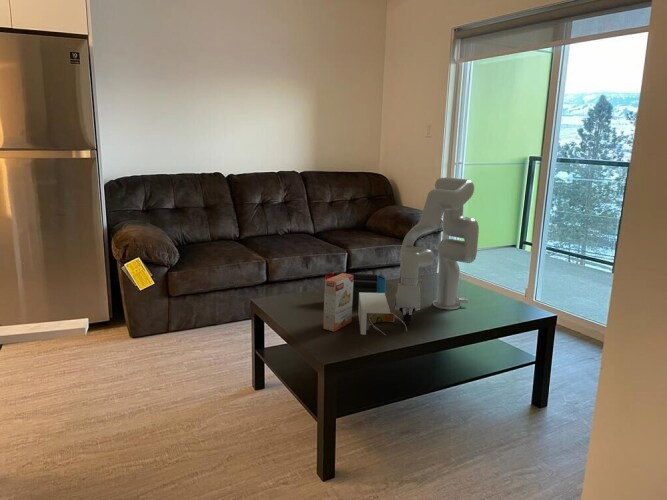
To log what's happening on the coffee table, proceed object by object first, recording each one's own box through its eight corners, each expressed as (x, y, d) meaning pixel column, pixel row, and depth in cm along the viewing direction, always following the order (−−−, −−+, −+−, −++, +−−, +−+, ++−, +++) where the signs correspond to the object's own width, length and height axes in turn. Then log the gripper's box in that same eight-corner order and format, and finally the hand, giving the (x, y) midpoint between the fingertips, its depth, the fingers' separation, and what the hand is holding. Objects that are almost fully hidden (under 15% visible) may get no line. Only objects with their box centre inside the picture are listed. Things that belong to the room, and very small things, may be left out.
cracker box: (335, 332, 210) (336, 282, 206) (322, 329, 213) (323, 279, 209) (352, 322, 222) (354, 274, 217) (340, 319, 225) (341, 272, 220)
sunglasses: (391, 319, 227) (393, 308, 226) (410, 336, 215) (412, 325, 213) (362, 323, 221) (363, 312, 220) (380, 341, 209) (381, 330, 207)
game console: (384, 303, 247) (386, 273, 244) (384, 308, 241) (385, 277, 238) (325, 300, 250) (326, 270, 247) (323, 304, 244) (324, 274, 241)
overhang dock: (383, 315, 230) (384, 293, 228) (388, 335, 209) (389, 309, 207) (358, 315, 230) (359, 292, 228) (360, 334, 209) (361, 309, 207)
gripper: (425, 278, 219) (422, 320, 223) (389, 277, 219) (387, 319, 223) (428, 283, 212) (425, 326, 216) (391, 282, 212) (389, 325, 216)
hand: (406, 322), depth 220 cm, fingers closed
